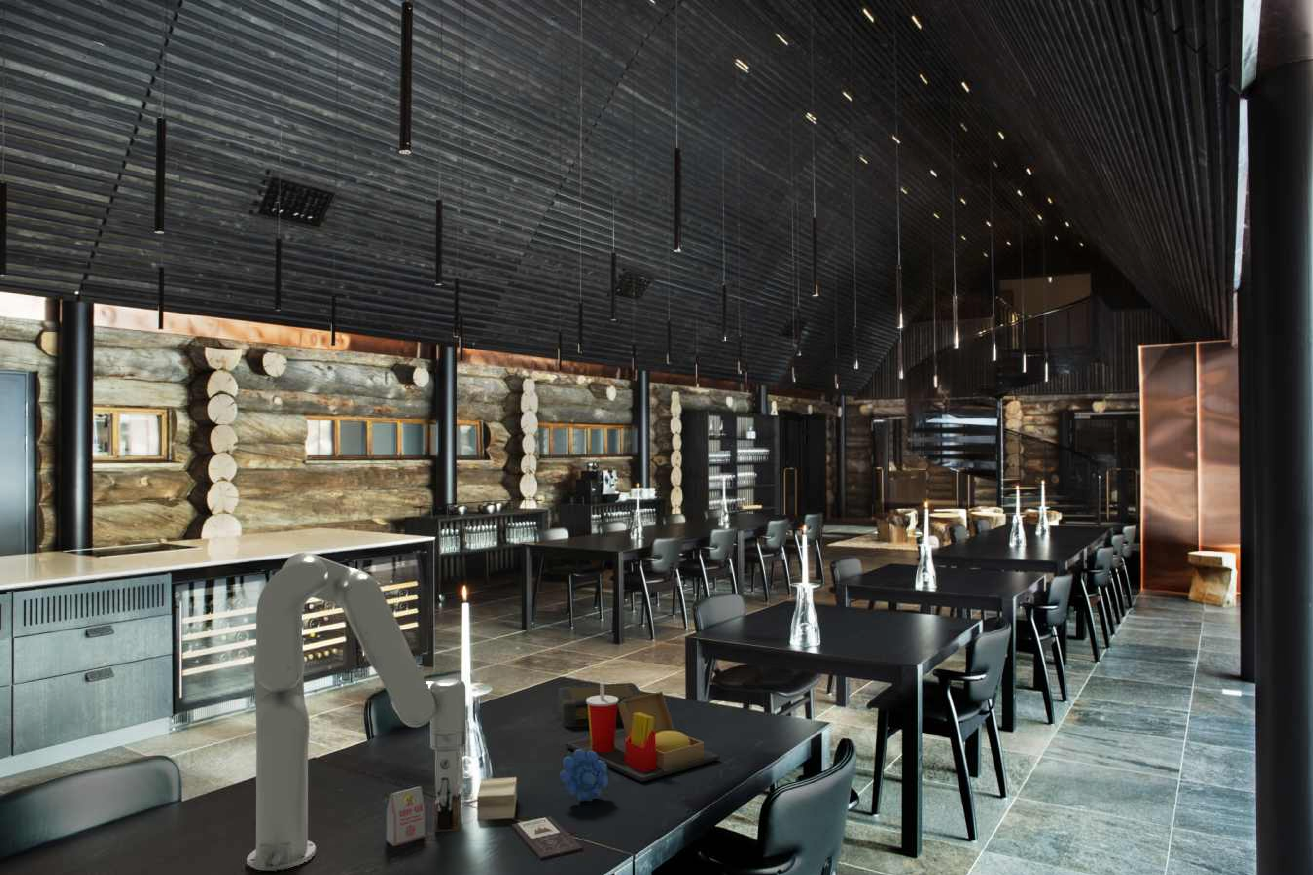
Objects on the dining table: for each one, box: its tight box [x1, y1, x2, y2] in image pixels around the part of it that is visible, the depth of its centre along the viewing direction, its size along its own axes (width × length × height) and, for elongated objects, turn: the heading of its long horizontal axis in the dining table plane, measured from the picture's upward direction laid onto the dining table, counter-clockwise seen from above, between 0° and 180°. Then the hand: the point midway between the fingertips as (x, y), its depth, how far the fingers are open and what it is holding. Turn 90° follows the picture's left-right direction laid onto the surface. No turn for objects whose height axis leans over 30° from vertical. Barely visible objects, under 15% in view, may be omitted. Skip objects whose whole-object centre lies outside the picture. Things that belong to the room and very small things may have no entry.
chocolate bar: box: [510, 815, 584, 861], centre depth 178 cm, size 9×1×18 cm
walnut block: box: [434, 793, 462, 833], centre depth 184 cm, size 5×5×6 cm
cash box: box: [558, 682, 644, 728], centre depth 267 cm, size 25×20×8 cm
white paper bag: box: [386, 785, 426, 847], centre depth 179 cm, size 4×7×10 cm, turn 129°
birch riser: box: [476, 776, 518, 821], centre depth 194 cm, size 11×8×5 cm
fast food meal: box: [565, 682, 721, 783], centre depth 230 cm, size 26×35×18 cm
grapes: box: [559, 749, 609, 802], centre depth 197 cm, size 12×7×12 cm, turn 114°
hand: (448, 820), depth 184 cm, fingers open, 7 cm apart
